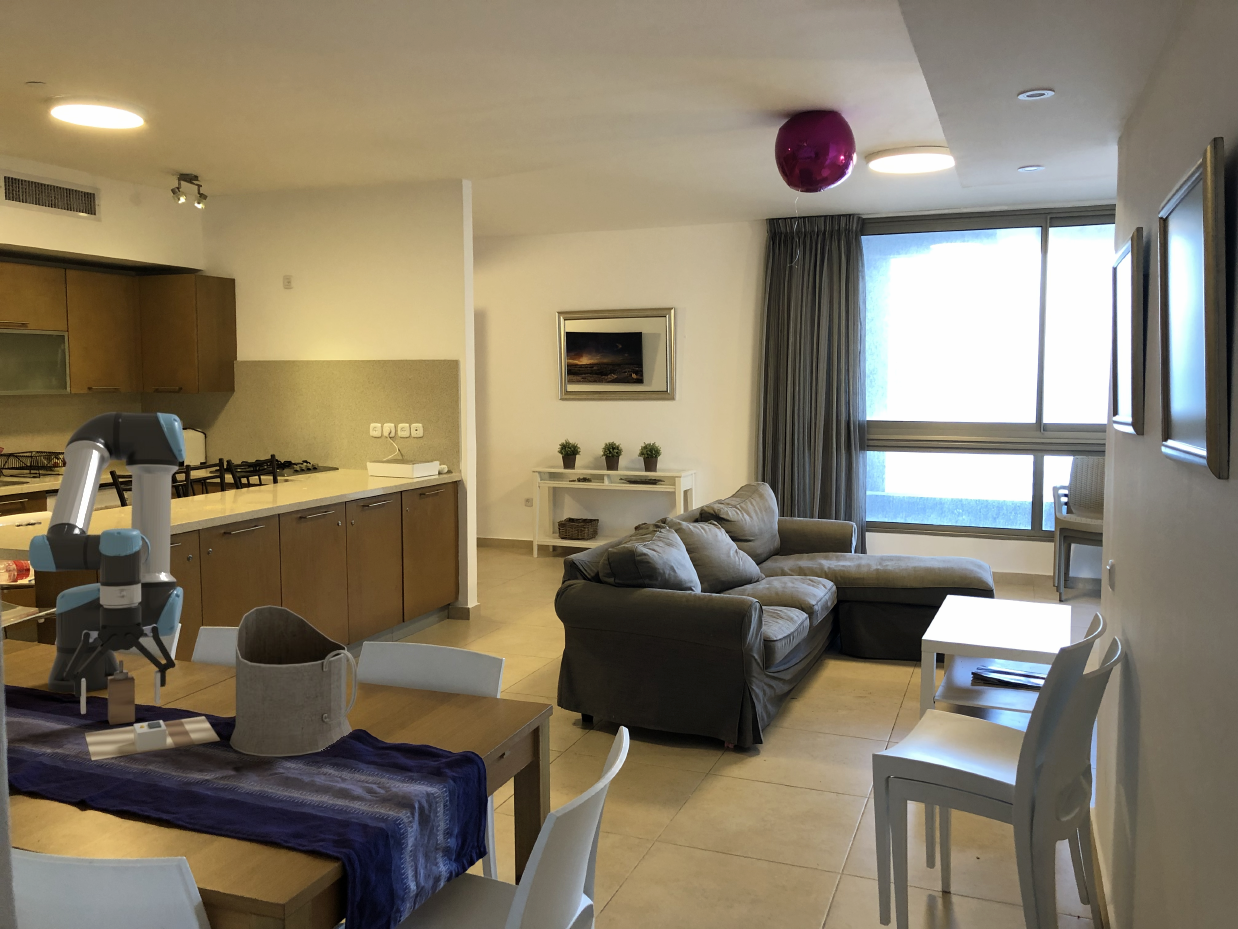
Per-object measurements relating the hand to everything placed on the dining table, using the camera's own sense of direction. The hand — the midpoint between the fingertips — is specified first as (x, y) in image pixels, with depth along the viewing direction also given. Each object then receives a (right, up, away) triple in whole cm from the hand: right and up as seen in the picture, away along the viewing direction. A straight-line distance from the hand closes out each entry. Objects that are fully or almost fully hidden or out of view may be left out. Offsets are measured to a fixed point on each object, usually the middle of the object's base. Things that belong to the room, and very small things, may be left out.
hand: (120, 707), depth 198 cm
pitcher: (+40, -5, -6) cm, 40 cm away
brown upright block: (0, -4, +1) cm, 4 cm away
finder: (+13, -4, -13) cm, 19 cm away
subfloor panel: (+11, -5, -9) cm, 15 cm away
